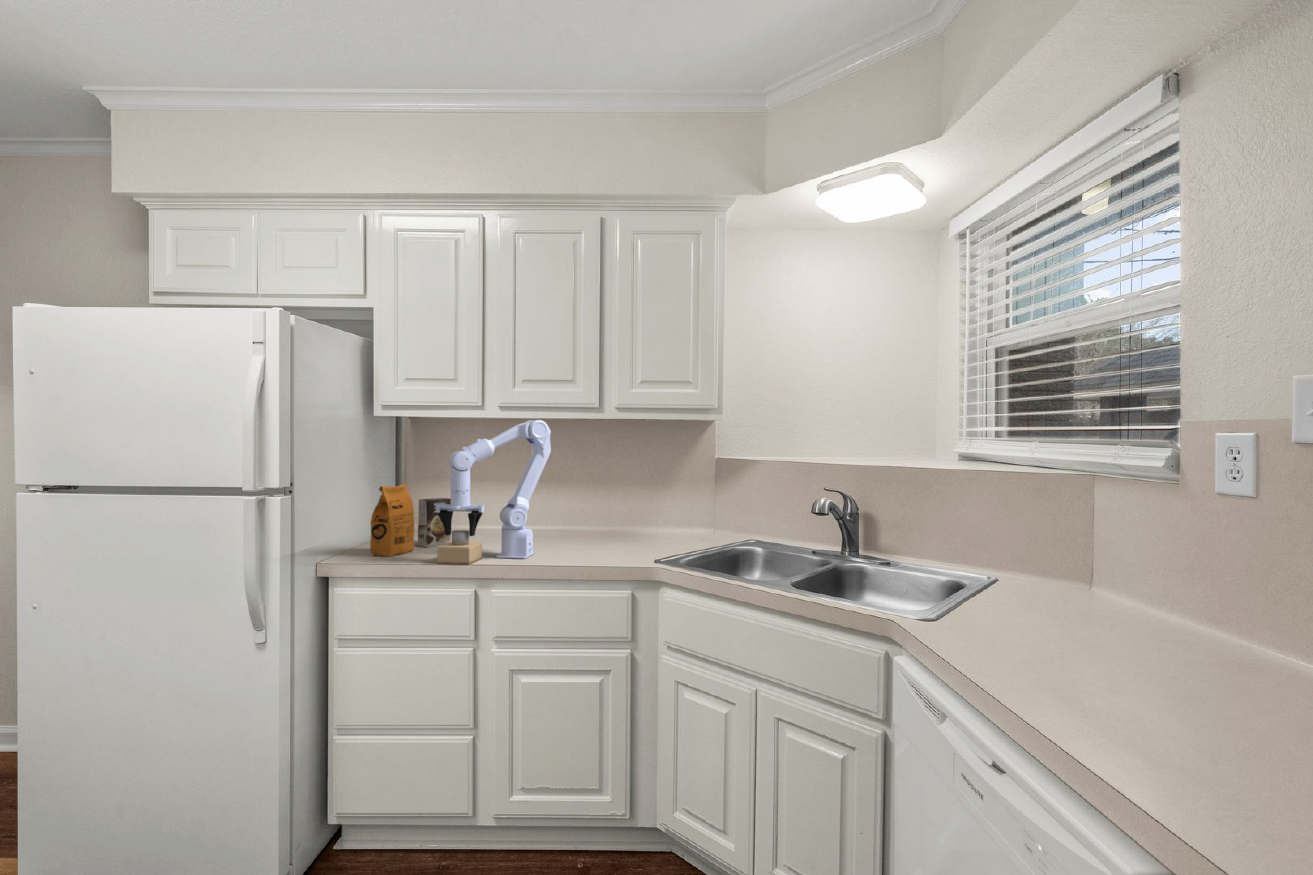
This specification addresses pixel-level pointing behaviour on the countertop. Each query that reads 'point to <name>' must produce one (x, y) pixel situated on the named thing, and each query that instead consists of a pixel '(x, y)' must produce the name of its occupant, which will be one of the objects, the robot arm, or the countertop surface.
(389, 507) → the coffee package
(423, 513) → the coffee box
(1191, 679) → the countertop surface
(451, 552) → the box
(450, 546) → the lid
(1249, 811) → the countertop surface
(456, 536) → the grey rounded cylinder
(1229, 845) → the countertop surface
